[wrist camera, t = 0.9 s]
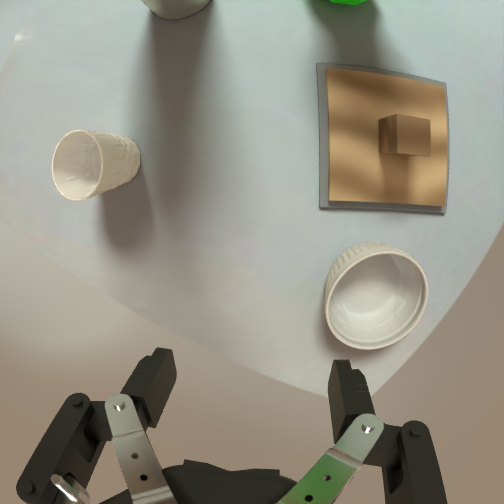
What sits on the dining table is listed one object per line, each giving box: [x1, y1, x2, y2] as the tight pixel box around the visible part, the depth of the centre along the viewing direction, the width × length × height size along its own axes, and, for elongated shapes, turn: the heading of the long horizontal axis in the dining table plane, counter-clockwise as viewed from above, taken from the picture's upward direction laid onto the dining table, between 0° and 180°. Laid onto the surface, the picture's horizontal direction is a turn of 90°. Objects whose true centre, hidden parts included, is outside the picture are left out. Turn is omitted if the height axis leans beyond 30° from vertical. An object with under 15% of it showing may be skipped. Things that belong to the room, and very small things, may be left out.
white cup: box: [52, 130, 140, 202], centre depth 31 cm, size 8×8×10 cm
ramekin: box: [324, 242, 428, 350], centre depth 34 cm, size 13×13×7 cm
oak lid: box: [325, 68, 447, 207], centre depth 27 cm, size 16×16×7 cm
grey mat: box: [316, 63, 449, 213], centre depth 31 cm, size 18×18×1 cm
